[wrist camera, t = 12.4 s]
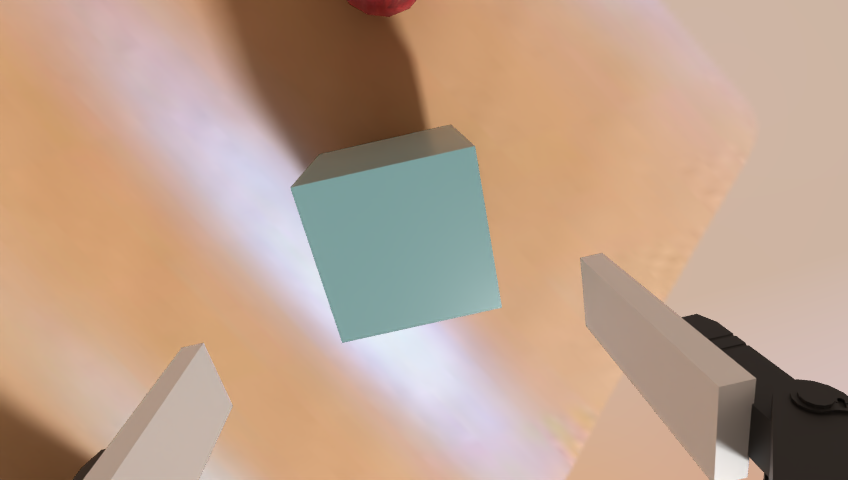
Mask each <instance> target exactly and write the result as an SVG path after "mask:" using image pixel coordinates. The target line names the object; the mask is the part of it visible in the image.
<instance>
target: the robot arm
mask: <svg viewBox="0 0 848 480" xmlns="http://www.w3.org/2000/svg"><path fill="white" fill-rule="evenodd" d="M580 260H581V272H582V284H583V297H584V309H585V321H586V327H587V328H588V329H589V330H590V332H591V333H592V334H593V335H594V336H595V338H596V339H597V340H598V341H599V343H600V344H601V345H602V346H603V348H604V349H605V350H606V351H607V353H608V354H609V355H610V356H611V358H612V359H613V360H614V361H615V363H616V364H617V365H618V366H619V368H620V369H621V370H622V371H623V373H624V374H625V375H626V376H627V378H628V379H629V380H630V381H631V382H632V384H633V385H634V386H635V387H636V389H637V390H638V391H639V392H640V394H641V395H642V396H643V397H644V399H645V400H646V401H647V402H648V403H649V405H650V406H651V407H652V408H653V410H654V411H655V412H656V414H657V415H658V416H659V417H660V419H661V420H662V421H663V422H664V423H665V425H666V426H667V427H668V428H669V429H670V431H671V432H672V433H673V435H674V436H675V437H676V438H677V440H678V441H679V442H680V443H681V445H682V446H683V447H684V448H685V450H686V451H687V452H688V453H689V455H690V456H691V457H692V458H693V460H694V461H695V462H696V463H697V464H698V466H699V467H700V468H701V469H702V471H703V472H704V473H705V474H706V476H707V477H708V478H709V479H710V480H738V479H742V478H747V477H748V466H749V457H750V458H751V459H752V460H753V461H754V462H755V464H756V465H757V466H758V467H759V468H760V469H761V470H762V471H763V472H764V479H763V480H848V396H847V395H846V394H845V393H843V392H841V391H839V390H837V389H835V388H833V387H831V386H829V385H825V384H822V383H818V382H815V381H808V380H795V379H793V378H792V377H791V376H789V375H788V374H787V373H785V372H784V371H783V370H781V369H780V368H779V367H777V366H776V365H775V364H773V363H772V362H770V361H769V360H768V359H766V358H765V357H764V356H762V355H761V354H760V353H758V352H757V351H756V350H754V349H753V348H752V347H750V346H747V345H746V343H745V342H743V341H742V340H741V339H739V338H738V337H737V336H733V333H731V332H730V331H729V330H727V329H726V328H725V327H723V326H722V325H720V324H719V323H718V322H716V321H713V320H711V319H708V318H706V317H703V316H701V315H698V314H694V315H690V316H686V317H680V316H679V315H678V314H676V313H675V312H674V311H673V310H672V309H670V308H669V307H668V306H667V305H665V304H664V303H663V302H662V301H661V300H659V299H658V298H657V297H656V296H654V295H653V294H652V293H651V292H649V291H648V290H647V289H646V288H645V287H643V286H642V285H641V284H640V283H638V282H637V281H636V280H635V279H634V278H632V277H631V276H630V275H629V274H627V273H626V272H625V271H624V270H622V269H621V268H620V267H619V266H618V265H616V264H615V263H614V262H613V261H611V260H610V259H609V258H608V257H607V256H605V255H604V254H603V253H600V254H595V255H591V256H586V257H582V258H580ZM232 407H233V405H232V403H231V401H230V398H229V396H228V394H227V392H226V390H225V388H224V386H223V383H222V381H221V379H220V377H219V375H218V373H217V370H216V368H215V366H214V364H213V362H212V360H211V358H210V355H209V353H208V351H207V349H206V347H205V345H204V343H200V344H196V345H192V346H187V347H183V348H181V349H180V351H179V352H178V353H177V355H176V356H175V357H174V359H173V360H172V361H171V363H170V364H169V365H168V367H167V368H166V369H165V371H164V372H163V373H162V375H161V376H160V377H159V379H158V380H157V381H156V383H155V384H154V385H153V387H152V388H151V389H150V391H149V392H148V393H147V395H146V396H145V397H144V399H143V400H142V401H141V403H140V404H139V405H138V407H137V408H136V409H135V411H134V412H133V413H132V415H131V416H130V417H129V419H128V420H127V421H126V423H125V424H124V425H123V427H122V428H121V429H120V431H119V432H118V433H117V435H116V436H115V438H114V439H113V440H112V442H111V443H110V444H109V446H108V447H107V448H106V449H104V450H101V451H100V452H99V453H98V454H96V455H95V456H94V457H93V458H92V459H91V460H90V461H89V462H87V463H86V464H85V465H84V466H83V467H82V468H81V469H80V471H79V472H78V473H77V474H76V476H75V477H74V478H73V480H199V478H200V476H201V474H202V472H203V470H204V467H205V465H206V463H207V461H208V459H209V456H210V454H211V452H212V450H213V448H214V446H215V443H216V441H217V439H218V437H219V435H220V433H221V430H222V428H223V426H224V424H225V422H226V420H227V417H228V415H229V413H230V411H231V409H232Z"/></svg>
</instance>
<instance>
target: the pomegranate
mask: <svg viewBox="0 0 848 480" xmlns="http://www.w3.org/2000/svg"><path fill="white" fill-rule="evenodd" d="M415 1H416V0H347V2H348V3H349V4H350V5H352V6H354V7H355V8H357V9H359V10H361V11H362V12H364V13H366V14H368V15H376V16H386V17H390V16H392V15H395V14H397V13H400V12H402V11H404V10H407V9H409V8H410V7H411V6H412V5H413V4H414V2H415Z"/></svg>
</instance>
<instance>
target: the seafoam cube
mask: <svg viewBox="0 0 848 480" xmlns="http://www.w3.org/2000/svg"><path fill="white" fill-rule="evenodd" d="M291 191H292V194H293V197H294V200H295V203H296V206H297V209H298V212H299V215H300V218H301V221H302V224H303V227H304V230H305V233H306V236H307V239H308V242H309V245H310V248H311V251H312V254H313V257H314V260H315V263H316V266H317V269H318V272H319V275H320V278H321V281H322V283H323V286H324V289H325V292H326V295H327V298H328V301H329V304H330V307H331V310H332V313H333V316H334V319H335V322H336V325H337V328H338V331H339V334H340V337H341V340H342V343H344V342H348V341H353V340H357V339H362V338H366V337H371V336H375V335H380V334H384V333H389V332H393V331H398V330H402V329H407V328H411V327H416V326H420V325H425V324H430V323H434V322H439V321H443V320H448V319H452V318H457V317H461V316H466V315H470V314H475V313H479V312H484V311H488V310H493V309H497V308H502V305H501V299H500V293H499V287H498V281H497V275H496V269H495V263H494V257H493V251H492V245H491V239H490V233H489V227H488V221H487V215H486V209H485V203H484V197H483V191H482V185H481V179H480V173H479V167H478V161H477V155H476V149H475V146H474V145H473V144H472V143H471V142H470V141H469V140H468V139H467V138H465V137H464V136H463V135H462V134H461V133H460V132H459V131H458V130H457V129H455V128H454V127H453V126H452V125H446V126H442V127H437V128H433V129H429V130H424V131H420V132H415V133H411V134H406V135H402V136H398V137H393V138H389V139H384V140H380V141H375V142H371V143H367V144H362V145H358V146H353V147H349V148H344V149H340V150H336V151H331V152H327V153H322V154H319V155H318V156H317V157H316V159H315V160H314V161H313V162H312V163H311V164H310V166H309V167H308V168H307V169H306V170H305V171H304V172H303V174H302V175H301V176H300V177H299V178H298V179H297V181H296V182H295V183H294V184H293V185H292V186H291Z"/></svg>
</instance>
